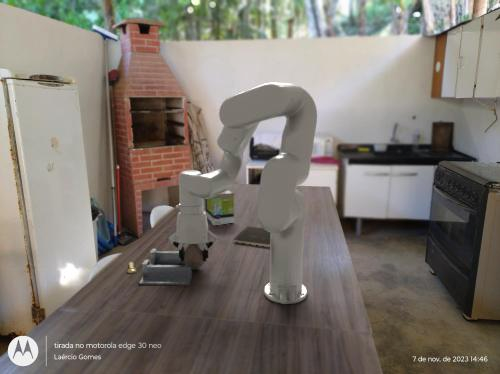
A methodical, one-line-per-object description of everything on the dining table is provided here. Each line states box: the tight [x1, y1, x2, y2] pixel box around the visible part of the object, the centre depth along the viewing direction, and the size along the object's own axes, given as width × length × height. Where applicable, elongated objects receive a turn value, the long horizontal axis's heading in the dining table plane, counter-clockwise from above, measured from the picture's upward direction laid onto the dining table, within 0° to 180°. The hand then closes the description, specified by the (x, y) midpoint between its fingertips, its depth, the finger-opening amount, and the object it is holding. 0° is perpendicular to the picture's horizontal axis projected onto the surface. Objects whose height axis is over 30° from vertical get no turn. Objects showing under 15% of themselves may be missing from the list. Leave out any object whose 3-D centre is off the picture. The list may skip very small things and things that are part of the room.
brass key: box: [127, 261, 137, 274], centre depth 128 cm, size 7×3×1 cm, turn 19°
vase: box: [184, 244, 204, 271], centre depth 125 cm, size 7×7×9 cm
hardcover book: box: [233, 225, 271, 248], centre depth 153 cm, size 16×23×2 cm
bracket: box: [138, 248, 193, 286], centre depth 126 cm, size 20×16×5 cm
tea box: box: [204, 189, 235, 226], centre depth 175 cm, size 15×10×15 cm, turn 22°
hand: (194, 259), depth 126 cm, fingers closed on vase, 6 cm apart
